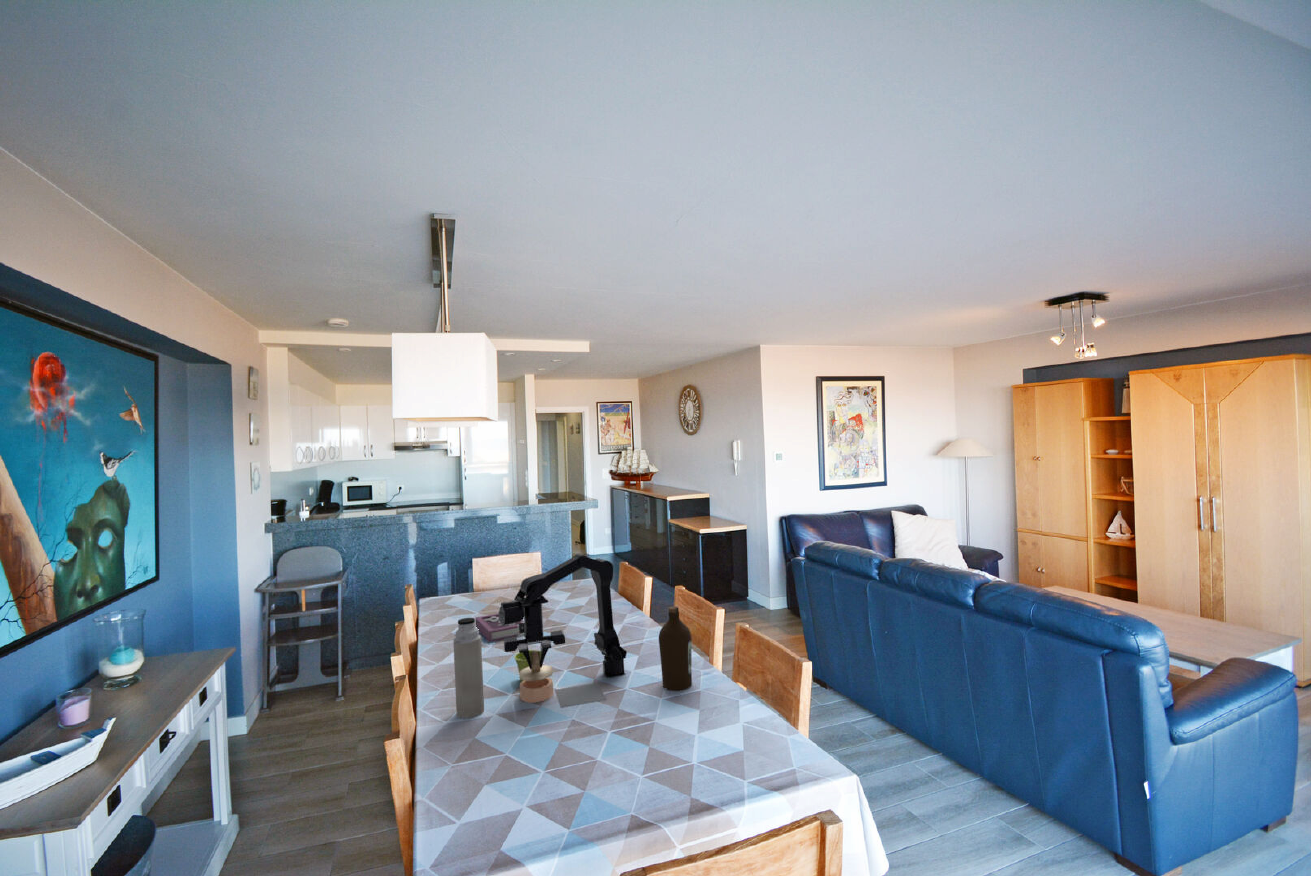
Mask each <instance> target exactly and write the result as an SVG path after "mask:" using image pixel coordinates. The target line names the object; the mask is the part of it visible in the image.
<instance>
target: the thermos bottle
mask: <svg viewBox="0 0 1311 876" xmlns="http://www.w3.org/2000/svg"><path fill="white" fill-rule="evenodd" d="M457 624H458V625H457V627H458V629H457V630H456V631H455V635H454V637H455V638H454V639H453V660H454V661H453V663H454V686H455V687H454V688H455V706H456V707H455V708H456V710H455V712H456V717H458V718H459V719H471V718H475V717H478V716H480V715H482V714H483V713H484V711H485V700H484V699H485V695H484V694H485V693H484V676H483V653H482V636H481V635H480V631H479V630H478V628H476V620H475V617H464V618H460V619H458V621H457Z"/></svg>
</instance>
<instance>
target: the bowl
mask: <svg viewBox="0 0 1311 876" xmlns="http://www.w3.org/2000/svg"><path fill="white" fill-rule="evenodd" d="M519 694H520V696H519V697H520V701H523V702H525V703H532V704H533V703H538V702H539V703H540V702H543V701H546V700H549V699H550V698H551V697H553V695H554V683H553V679H552V678H551V677H548V678H546V679H542V680H538V681H520V683H519Z"/></svg>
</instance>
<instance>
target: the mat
mask: <svg viewBox="0 0 1311 876" xmlns="http://www.w3.org/2000/svg"><path fill="white" fill-rule="evenodd" d="M554 691H555V694H556V697H557V701H558V703H559V706H560V708H561V709H562V708H567V707H573V706H574V707H575V706H579V705H584V704H585V705H586V704H590V703H596V702H601V701H606V700H608V699H607V698H606V696H605V694H604V691H603V690H602V688H601V685H599V682H593V683H587V684H586V683H585V684H581V685H574V686H569V687H564V688H559V689H554Z"/></svg>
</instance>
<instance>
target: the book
mask: <svg viewBox="0 0 1311 876" xmlns="http://www.w3.org/2000/svg"><path fill="white" fill-rule="evenodd" d="M474 619H475V627H477V628H478V629H479V630H478V631H479V633H482V634H483V635H484V636H483V635H482V634H481V635H482V636H483V637H484V638H485V637H486V638H485V639H486V640H487V641H488V642H489V643H493V642H492V641H494V642H498V641H504V640H503V639H505V638H510V637H516V638H518V637H524V633H519V623H524V619H523V620H521V622H517V623H513V624H508V625H503V626H502V625H501V623H500V620H499V612H498V613H493V614H488V615H482V616H477V617H474Z"/></svg>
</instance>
